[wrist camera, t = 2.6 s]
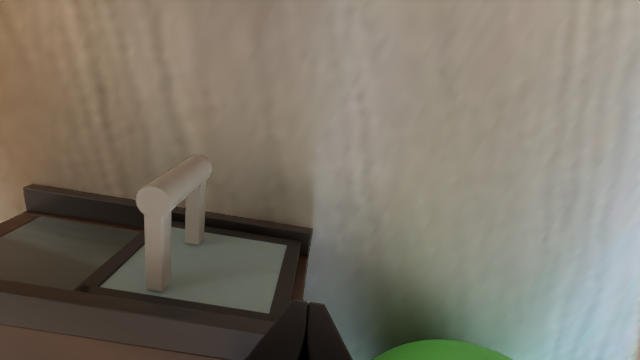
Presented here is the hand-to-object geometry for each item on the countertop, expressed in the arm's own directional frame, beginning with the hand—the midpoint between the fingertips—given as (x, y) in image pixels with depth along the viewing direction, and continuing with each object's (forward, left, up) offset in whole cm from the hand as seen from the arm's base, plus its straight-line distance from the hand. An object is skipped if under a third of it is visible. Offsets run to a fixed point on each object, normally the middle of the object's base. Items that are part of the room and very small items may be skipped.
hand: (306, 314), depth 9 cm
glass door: (-2, +5, -11) cm, 12 cm away
